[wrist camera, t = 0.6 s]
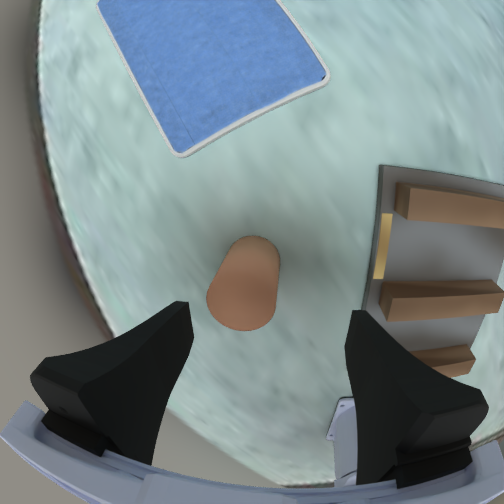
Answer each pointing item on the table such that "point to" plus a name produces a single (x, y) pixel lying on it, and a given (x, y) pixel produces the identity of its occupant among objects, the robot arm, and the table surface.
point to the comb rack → (435, 263)
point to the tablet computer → (211, 63)
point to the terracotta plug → (246, 285)
